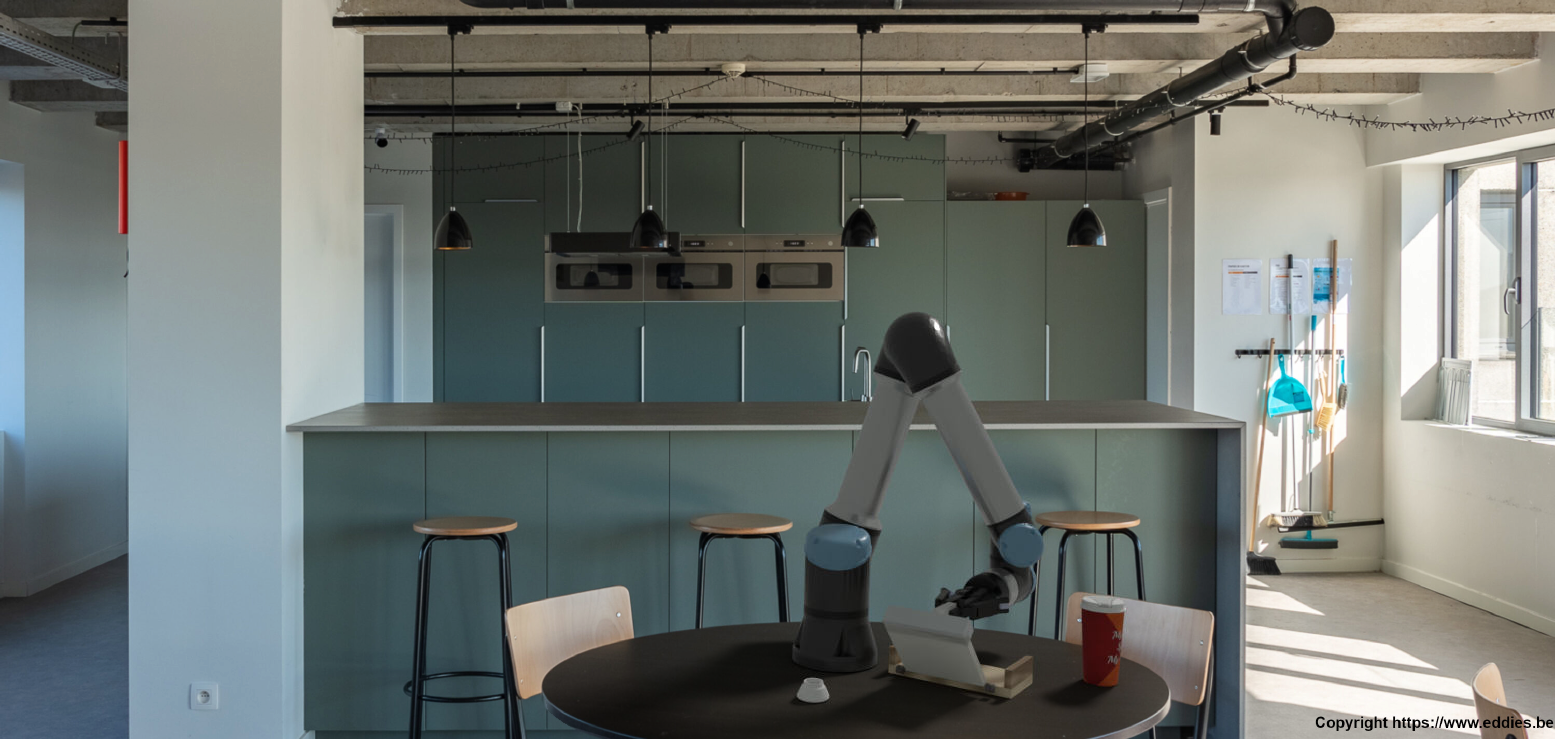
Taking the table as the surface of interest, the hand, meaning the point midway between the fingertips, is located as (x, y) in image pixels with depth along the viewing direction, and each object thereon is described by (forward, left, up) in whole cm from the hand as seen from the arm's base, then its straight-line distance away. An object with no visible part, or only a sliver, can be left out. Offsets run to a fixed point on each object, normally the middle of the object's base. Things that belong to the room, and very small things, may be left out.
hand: (936, 618), depth 167 cm
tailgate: (0, +6, -10) cm, 12 cm away
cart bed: (0, +10, -12) cm, 16 cm away
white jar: (-15, -13, -13) cm, 24 cm away
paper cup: (+20, +25, -13) cm, 34 cm away
